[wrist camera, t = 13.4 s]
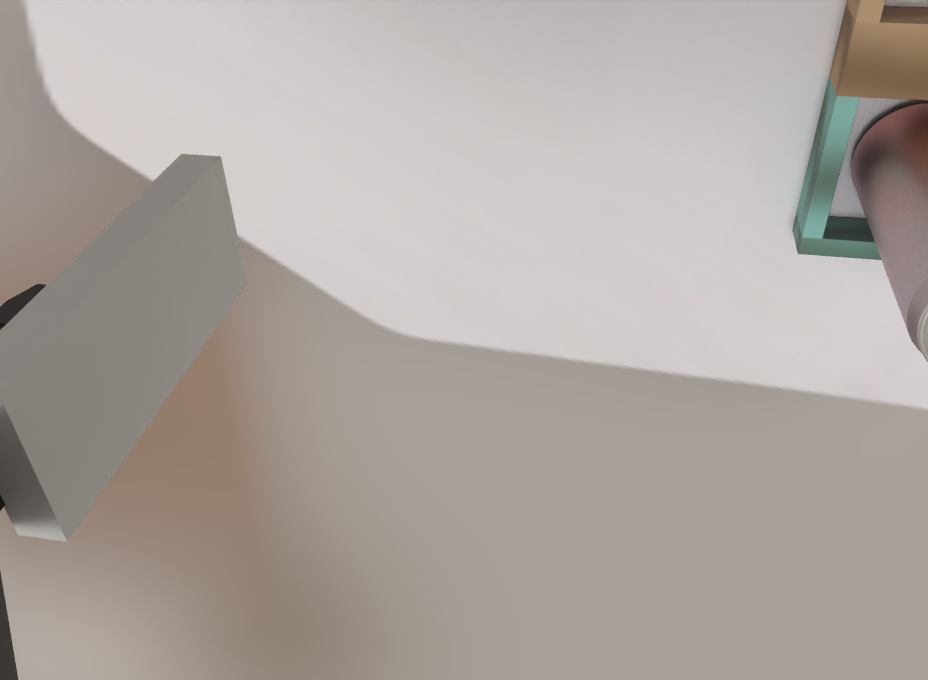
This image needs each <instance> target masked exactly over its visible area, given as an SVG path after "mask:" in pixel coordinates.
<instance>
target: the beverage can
mask: <svg viewBox="0 0 928 680" xmlns="http://www.w3.org/2000/svg"><path fill="white" fill-rule="evenodd" d="M851 174H852V180H853V183H854V186H855V189H856V191H857V194H858V197H859V200H860V202H861V205H862V208H863V210H864V213H865V216H866V219H867V221H868V224H869V227H870V229H871V232H872V235H873V238H874V240H875V243H876V246H877V248H878V251H879V254H880V257H881V259H882V262H883V265H884V267H885V270H886V273H887V276H888V278H889V281H890V284H891V286H892V289H893V292H894V295H895V297H896V300H897V303H898V305H899V308H900V311H901V314H902V316H903V319H904V322H905V324H906V327H907V330H908V333H909V335H910V338H911V340H912V342H913V343H914V345H915V346H916V347H917V349H918V350H919V351H920V352H921V353H922V354H923V356H924V357H925V359H926V360H927V361H928V103H925V104H917V105H912V106H908V107H905V108H902V109H899V110H897V111H895V112H893V113H891V114H889V115H887V116H885V117H884V118H882V119H881V120H880V121H878V122H877V123H876V124H875V125H873V126H872V127H871V128H870V129H869V130H868V131H867V132H866V134H865V135H864V136H863V138H862V139H861V140H860V142H859V144H858V146H857V148H856V150H855V152H854V155H853V159H852V165H851Z"/></svg>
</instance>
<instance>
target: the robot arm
mask: <svg viewBox="0 0 928 680" xmlns="http://www.w3.org/2000/svg"><path fill="white" fill-rule="evenodd" d="M246 285H247V279H246V274H245V269H244V265H243V260H242V255H241V250H240V246H239V241H238V236H237V231H236V227H235V222H234V217H233V212H232V208H231V203H230V198H229V193H228V189H227V184H226V179H225V174H224V170H223V165H222V160H221V157H220V156H205V155H189V154H181V155H180V156H179V157H178V158H177V159H176V160H175V161H174V162H173V163H172V164H171V165H170V166H169V167H168V168H167V169H166V170H165V171H164V172H163V173H161V174H160V175H159V176H158V177H157V178H156V179H155V180H154V181H153V182H152V183H151V184H150V185H149V186H148V187H147V188H146V189H145V190H144V191H143V192H142V193H141V194H140V195H139V196H138V197H137V198H136V199H135V200H134V201H133V202H132V203H131V204H130V205H129V206H128V207H127V208H125V209H124V210H123V211H122V212H121V213H120V214H119V215H118V216H117V217H116V218H115V219H114V220H113V221H112V222H111V223H110V224H109V225H108V226H107V227H106V228H105V229H104V230H103V231H102V232H101V233H100V234H99V235H98V236H97V237H96V238H95V239H94V240H93V241H92V242H91V243H89V245H87V246H86V247H85V248H84V249H83V250H82V251H81V252H80V253H79V254H78V255H77V256H76V257H75V258H74V259H73V260H72V261H71V262H70V263H69V264H68V265H67V266H66V267H65V268H64V269H63V270H62V271H61V272H60V273H59V274H58V275H57V276H56V277H55V278H53V279H52V281H50V282H49V283H48V284H47V285H42V284H37V285H35V286H33V287H31V288H29V289H28V290H26V291H24V292H22V293H20V294H19V295H17V296H15V297H13V298H11V299H9V300H8V301H6V302H5V303H4V304H3V305H2V306H1V307H0V510H1V509H2V508H3V507H4V508H5V510H6V512H7V514H8V516H9V518H10V520H11V522H12V523H13V525H14V527H15V529H16V531H17V533H18V535H23V536H30V537H37V538H44V539H50V540H58V541H64V542H67V541H68V540H69V539H70V537H71V536H72V535H73V533H74V532H75V530H76V529H77V527H78V526H79V524H80V523H81V521H82V520H83V519H84V517H85V516H86V514H87V513H88V511H89V510H90V509H91V507H92V506H93V504H94V503H95V501H96V500H97V498H98V497H99V496H100V494H101V493H102V491H103V490H104V489H105V487H106V486H107V484H108V483H109V481H110V480H111V479H112V477H113V475H114V474H115V473H116V471H117V470H118V468H119V467H120V466H121V464H122V463H123V461H124V460H125V458H126V457H127V456H128V454H129V453H130V451H131V450H132V448H133V447H134V446H135V444H136V442H137V441H138V440H139V438H140V437H141V436H142V434H143V433H144V431H145V430H146V428H147V427H148V425H149V424H150V423H151V421H152V420H153V418H154V417H155V415H156V414H157V413H158V411H159V410H160V408H161V407H162V405H163V404H164V402H165V401H166V400H167V398H168V397H169V395H170V394H171V393H172V391H173V390H174V388H175V387H176V385H177V384H178V382H179V381H180V379H181V378H182V377H183V375H184V374H185V372H186V371H187V370H188V368H189V366H190V365H191V364H192V362H193V361H194V359H195V358H196V357H197V355H198V354H199V352H200V351H201V350H202V348H203V346H204V345H205V344H206V342H207V341H208V339H209V338H210V337H211V335H212V334H213V332H214V331H215V329H216V328H217V327H218V325H219V324H220V322H221V321H222V319H223V318H224V317H225V315H226V314H227V312H228V311H229V309H230V308H231V306H232V305H233V304H234V302H235V301H236V299H237V297H238V296H239V295H240V294H241V292H242V291H243V289H244V288H245V286H246ZM0 680H18V675H17V669H16V663H15V657H14V651H13V646H12V640H11V633H10V627H9V621H8V615H7V609H6V603H5V597H4V591H3V585H2V579H1V573H0Z"/></svg>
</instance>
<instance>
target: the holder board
mask: <svg viewBox="0 0 928 680" xmlns="http://www.w3.org/2000/svg"><path fill="white" fill-rule="evenodd" d="M884 3H885V0H847V4H846V9H845V13H844V17H843V21H842V25H841V30H840V34H839V38H838V42H837V46H836V51H835V55H834V59H833V63H832V67H831V71H830V76H829V80H828V84H827V88H826V92H825V97H824V101H823V105H822V109H821V113H820V118H819V122H818V126H817V130H816V134H815V138H814V143H813V147H812V151H811V155H810V159H809V164H808V168H807V172H806V176H805V180H804V185H803V189H802V193H801V197H800V201H799V206H798V210H797V214H796V218H795V222H794V226H793V234H794V238H795V243H796V247H797V251H798V254H808V255H821V256H835V257H848V258H862V259H875V260H882V259H881V257H880V254H879V251H878V248H877V246H876V243H875V240H874V238H873V235H872V232H871V229H870V227H869V224H868V221H867V219H862V218H847V217H832V216H828V215H829V211H830V208H831V204H832V200H833V196H834V192H835V189H836V185H837V181H838V177H839V174H840V170H841V166H842V162H843V158H844V155H845V151H846V147H847V143H848V140H849V136H850V132H851V128H852V124H853V121H854V117H855V113H856V109H857V106H858V102H859V98H860V97H869V98H891V99H913V100H928V8H924V7H889V6H884Z"/></svg>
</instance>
